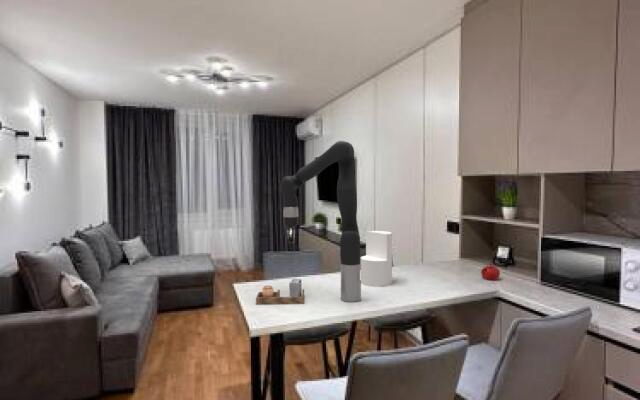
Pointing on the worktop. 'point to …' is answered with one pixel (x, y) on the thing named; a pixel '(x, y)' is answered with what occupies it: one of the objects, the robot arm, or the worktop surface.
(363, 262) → the white stepped solid
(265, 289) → the terracotta jar
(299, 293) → the medicine box
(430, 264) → the worktop surface
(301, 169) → the robot arm
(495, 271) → the pomegranate
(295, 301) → the caddy
